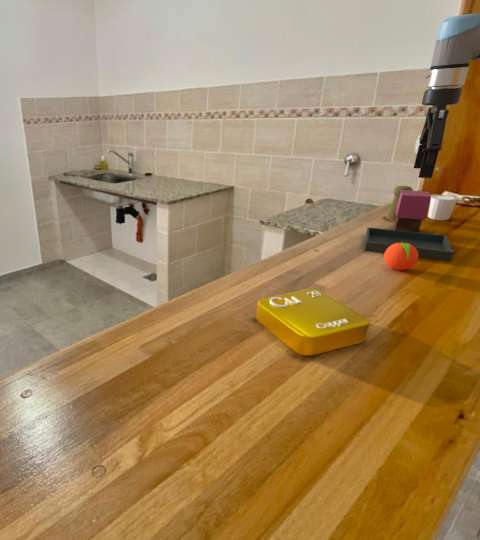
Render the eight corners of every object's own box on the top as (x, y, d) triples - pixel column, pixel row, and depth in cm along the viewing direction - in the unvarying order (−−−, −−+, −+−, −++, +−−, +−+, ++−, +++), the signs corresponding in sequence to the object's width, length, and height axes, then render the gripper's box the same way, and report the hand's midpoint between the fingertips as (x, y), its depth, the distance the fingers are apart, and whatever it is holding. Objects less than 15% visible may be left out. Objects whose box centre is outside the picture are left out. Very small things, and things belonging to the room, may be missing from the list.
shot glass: (431, 220, 128) (437, 200, 125) (421, 214, 134) (427, 195, 131) (455, 220, 126) (462, 200, 124) (444, 214, 132) (450, 195, 130)
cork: (385, 214, 136) (393, 184, 132) (406, 216, 133) (414, 185, 129) (386, 219, 132) (393, 187, 127) (407, 221, 129) (416, 188, 124)
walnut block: (416, 229, 121) (420, 213, 119) (417, 234, 117) (422, 219, 115) (393, 226, 124) (397, 212, 122) (394, 232, 120) (398, 217, 118)
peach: (420, 277, 92) (428, 250, 89) (386, 275, 94) (393, 248, 91) (409, 264, 98) (416, 238, 96) (378, 262, 101) (384, 237, 98)
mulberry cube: (422, 213, 120) (428, 191, 117) (424, 219, 114) (431, 196, 111) (395, 211, 123) (401, 190, 120) (396, 217, 118) (402, 195, 115)
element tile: (302, 359, 67) (306, 336, 65) (251, 317, 80) (253, 297, 78) (370, 341, 70) (376, 319, 68) (311, 303, 83) (314, 284, 81)
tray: (443, 243, 110) (446, 235, 109) (450, 261, 99) (453, 252, 98) (365, 235, 119) (367, 227, 118) (364, 250, 108) (366, 242, 107)
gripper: (419, 88, 108) (402, 164, 117) (431, 90, 89) (409, 181, 97) (453, 85, 104) (433, 165, 113) (473, 87, 85) (446, 182, 94)
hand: (422, 172), depth 105 cm, fingers open, 13 cm apart
